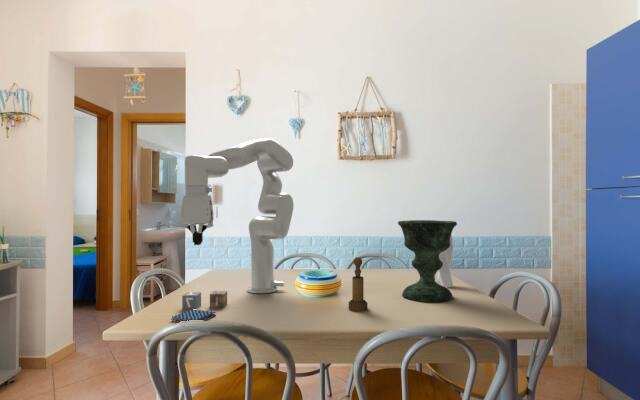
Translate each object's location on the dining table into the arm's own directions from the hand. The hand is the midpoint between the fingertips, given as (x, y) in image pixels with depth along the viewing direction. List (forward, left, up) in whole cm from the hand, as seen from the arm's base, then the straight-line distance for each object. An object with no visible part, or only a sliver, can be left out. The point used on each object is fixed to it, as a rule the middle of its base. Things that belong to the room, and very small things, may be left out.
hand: (197, 244), depth 131 cm
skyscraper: (-98, -39, -24) cm, 108 cm away
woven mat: (-1, +9, -24) cm, 25 cm away
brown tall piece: (-56, -2, -23) cm, 60 cm away
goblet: (-85, -19, -23) cm, 90 cm away
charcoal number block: (+3, -4, -23) cm, 24 cm away
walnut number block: (-6, -6, -23) cm, 25 cm away
